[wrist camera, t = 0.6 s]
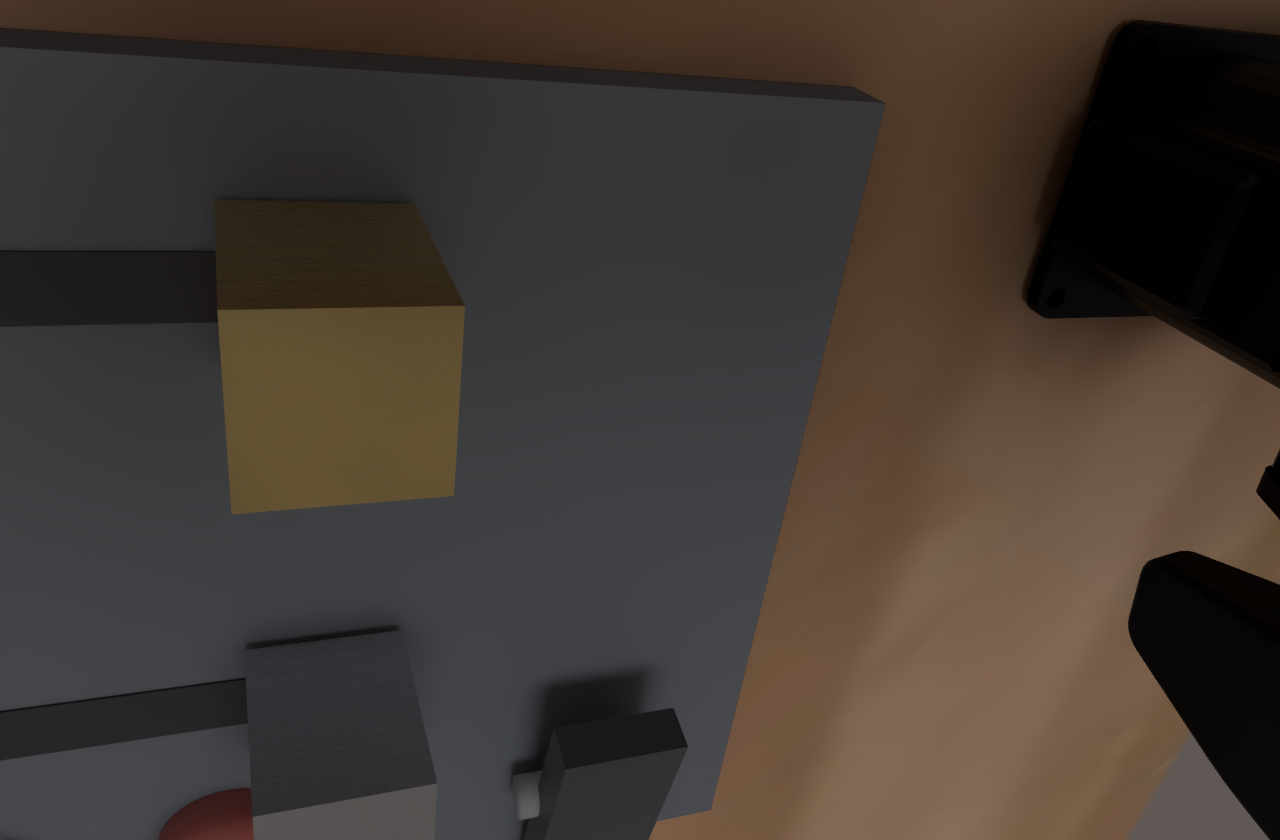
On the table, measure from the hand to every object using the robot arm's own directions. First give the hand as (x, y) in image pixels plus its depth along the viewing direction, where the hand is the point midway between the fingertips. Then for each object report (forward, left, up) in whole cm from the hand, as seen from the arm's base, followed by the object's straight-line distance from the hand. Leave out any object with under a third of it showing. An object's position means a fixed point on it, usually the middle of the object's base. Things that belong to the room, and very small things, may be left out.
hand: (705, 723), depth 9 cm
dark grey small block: (-4, +13, -11) cm, 17 cm away
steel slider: (+2, +10, -11) cm, 15 cm away
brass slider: (+2, +1, -11) cm, 11 cm away
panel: (+2, +7, -12) cm, 14 cm away
